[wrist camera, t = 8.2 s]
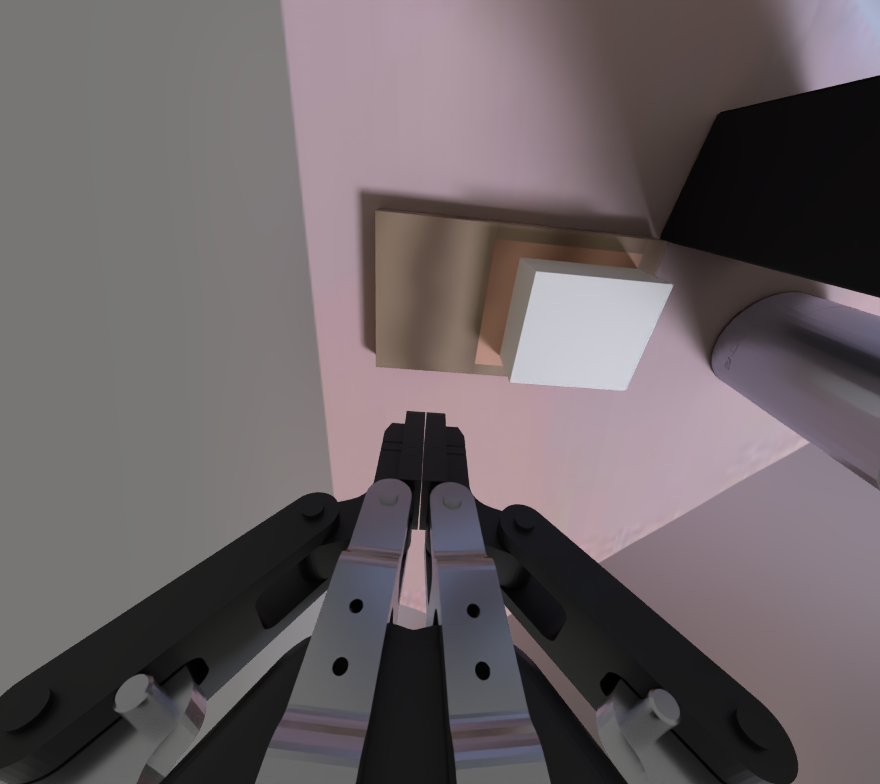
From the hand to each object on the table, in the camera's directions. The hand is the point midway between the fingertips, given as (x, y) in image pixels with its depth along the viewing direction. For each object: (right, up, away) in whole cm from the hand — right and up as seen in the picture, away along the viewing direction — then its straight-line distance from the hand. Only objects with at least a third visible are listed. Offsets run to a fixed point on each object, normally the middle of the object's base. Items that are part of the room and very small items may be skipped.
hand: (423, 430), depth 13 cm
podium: (+6, +9, +15) cm, 19 cm away
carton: (+11, +8, +14) cm, 19 cm away
